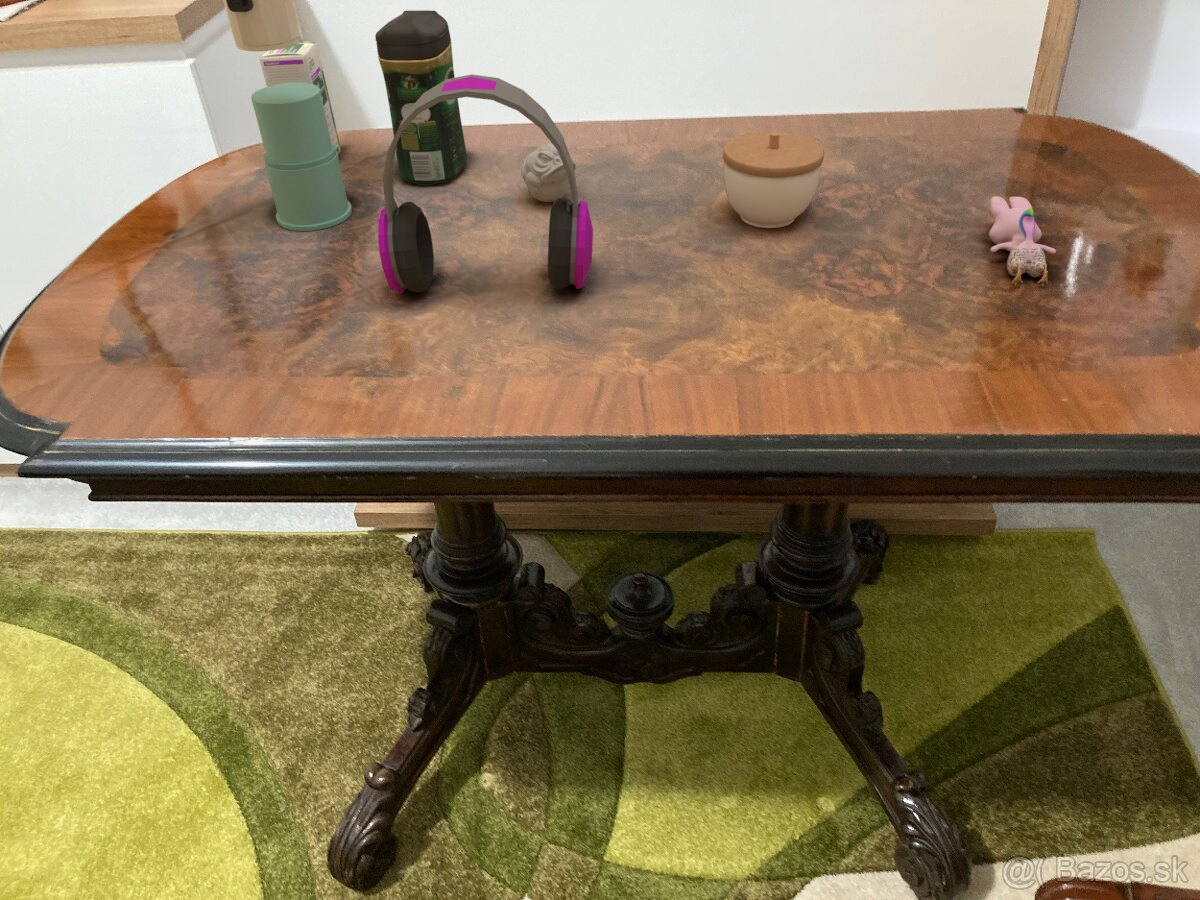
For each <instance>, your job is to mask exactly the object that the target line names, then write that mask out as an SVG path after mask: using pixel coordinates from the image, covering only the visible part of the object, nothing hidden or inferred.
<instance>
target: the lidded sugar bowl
mask: <svg viewBox="0 0 1200 900" xmlns="http://www.w3.org/2000/svg"><path fill="white" fill-rule="evenodd" d="M722 149H723V150H722V159H723V168H722V169H723V170H722V172H723V173H722V175H723V185H724V186H723V187H724V191H725V195H726V198H727V201H728V202H729V204H730V206H731V207H732V209H733V210H734V212H736V213H737V214H738V215H739V217H740V219H741V221H743V223H745V224H747V225H749V226H752V227H757V228H761V229H778V228H783V227H787V226H789V225H791V224H792V223H793V222H794V221H795V220H796V218H798V217H799V216H800V215H802V214H803V212H805V211H806V209H808V207H809V206H810V205H811V203H812V201H813V199H814V198H815V195H816V193H817V190H818V186H819V182H820V178H821V173H822V166H823V163H824V158H825V150H824V148H823V146H822V145H821V144H820V143H819V142H817V141H816V140H814V139H813V138H810V137H807V136H805V135H800V134H796V133H795V134H794V133H791V132H782V131H781V132H780V131H760V132H752V133H751V132H750V133H745V134H743V135H739V136H736V137H734V138H732V139H730V140H728V142H726V143H725V144H724V147H723V148H722Z"/></svg>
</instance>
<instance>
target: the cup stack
mask: <svg viewBox="0 0 1200 900" xmlns="http://www.w3.org/2000/svg"><path fill="white" fill-rule="evenodd" d="M250 98H251V102H252V107H253V111H254V114H255V118H256V123H257V125H258V131H259V133H260V137H261V141H262V144H263V145H262V146H263V150H264V154H263V160H264V161H263V164H264V167H265V171H266V174H267V178H268V182H269V186H270V189H271V192H272V198H273V200H274V205H275V208H276V209H275V210H276V214H275V219H276V222H277V224H278V225H279V226H280V227H281V228H283V229H286V230H289V231H295V232H313V231H321V230H325V229H329V228H332V227H334V226H337V225H340V224H341V223H343V222H345V221H346V220H347V219H349V218H350V217H351V215H352V213H353V209H352V208H353V207H352V204H351V202H350V201H349V200H348V196H347V192H346V186H345V183H344V178H343V174H342V173H343V172H342V168H341V163H340V159H339V154H337V151H336V149H335V146H334V144H332V143H331V139H330V134H329V129H328V125H327V120H326V115H325V111H324V106H323V101H322V97H321V92H320V88H319V87H318V86H316V85H314V84H309V83H283V84H277V85H272V86H268V87H267V86H265V87H262V88H260V89H258V90H256V91H255V92H253V93H252V94H251V97H250Z"/></svg>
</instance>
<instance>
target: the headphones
mask: <svg viewBox="0 0 1200 900" xmlns="http://www.w3.org/2000/svg"><path fill="white" fill-rule="evenodd" d="M457 98H458V99H462V98H472V99H479V100H481V99H482V100H488V101H489V100H490V101H494V102H496V103H498V104H501V105H503V106H505V107H507V108H511V109H513V110H514V111H517V112H519V113H520V114H521V115H522V116H524V117H525V118H526V119H528V120H529V121H530V122H531V123H533V124H534V125H535V126H537V127H538V128H539V129H540V130H541V131H542V133H543V134H544V135H545V136H546V138H547V139H548V140H549V142H551V143H552V144H553V145H554V146H555V148H556V149H557V151H558V153H559V155H560V158H561V160H562V163H563V165H564V167H565V170H566V172H567V175H568V178H569V189H570V196H571V200H570V199H568V198H566V197H561V198H558V199H557V200H556V201H553V202H552V205H551V207H550V212H549V222H548V223H549V226H548V241H547V242H548V243H547V250H548V251H547V278H548V281H549V283H550V285H551V286H552V287H553V288H554V289H556V290H564V289H566V288H567V287H569V286H570V285H573V286H574V287H575V289H576V290H578V289H582V288H584V285H585V282H586V279H587V276H588V273H589V270H590V268H591V265H592V260H593V246H594V245H593V243H594V241H593V240H594V227H593V223H592V219H591V214H590V210H589V206H588V202H587V201H584V200H582V199H580V201H579V194H578V187H577V180H576V173H575V170H574V167H573V162H572V160H571V158H572V157H571V155H570V152H569V150H568V146H567V144H566V142H565V138H564V136H563V134H562V132H561V131H560V129H559V128H558V126H556V123H555V122H554V121H553V119H552V118H551V117H550V114H549V113H548V112H547V109H545V108H544V107H543V106H541V104H540V103H539V102H537V101H536V100H535V99H534V98H533V97H532V96H530V95H529V94H528V93H527V92H526V91H525V90H524V89H522V88H520V87H517V86H515V85H514V84H512V83H510V82H508V81H506V80H504V79H501V78H499V77H493V76H486V75H479V74H472V73H471V74H466V75H461V76H455V78H451V79H446V80H445V81H443V82H441V83H440V84H438V85H436V86H435V87H433V88H431V89H430V90H428V91H426V92H425V93H423V95H422V96H421V97H420V98H419V99H418V100H417V101H416V103H415V104H414V105H413V106H412V107H411V108H410V109H409V111H408V112H407V113H406V114H405V116H404V118H403V120H402V122H401V124H400V126H399V128H398V130H397V132H396V134H395V137H394V136H393V138H392V141H391V143H390V145H389V148H388V150H387V152H386V159H385V166H384V171H383V175H382V176H383V177H382V182H383V194H384V195H383V196H384V207H383V208H381V210H380V213H379V218H378V228H377V229H378V230H377V231H378V232H377V240H378V241H377V242H378V243H377V244H378V253H379V256H380V262H381V266H382V271H383V273H384V276H385V280H386V282H387V284H388V286H389V287H390V289H391V290H392V291H394V292H397V293H401V294H402V293H404V292H405V291H406V289H407V290H409V291H411V292H415V293H417V294H420V293H424V292H425V291H426V290H427V289H428V288H429V287H430V285H431V283H432V279H433V274H434V267H435V263H434V262H435V259H434V258H435V257H434V256H435V255H434V246H433V239H432V234H431V233H432V232H431V228H430V225H429V221H428V220H427V217H426V215H425V213H424V211H423V209H422V208H421V207H420V206H418V205H417V204H416V203H415V202H413V201H405V202H403V203H401V204H400V205H399V206H398V204H397V201H396V200H395V198H394V180H393V179H394V177H393V166H394V162H395V156H396V146H397V142H398V140H399V137H400V135H401V133H402V131H403V130H404V129H405V128H406V127H407V126H408V125H409V124H410V123H411V122H412V121H413V119H414V118H415V117H416V116H417V115H418V114H419V113H421V112H423V111H424V110H426V109H428V108H430V107H432V106H434V105H435V104H437V103H439V102H441V101H446V100H452V99H457Z"/></svg>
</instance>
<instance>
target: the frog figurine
mask: <svg viewBox="0 0 1200 900" xmlns="http://www.w3.org/2000/svg"><path fill="white" fill-rule="evenodd" d="M571 160H572V162H573V167H574V171H575V170H576V167H577V165H576V164H575V160H574V159H573V158H572V157H571ZM522 162H523V163H522V166H521V169H520V173H521V177H522V179H523V182H524V184H525V185H526V187H527V190H528V192H529V194H530V195H531V196H532V197H533V198H534V199H536V200H538V201H539V202H543V203H554V202H555V201H556V200H557V199H558V198H563V196H564V195H565V194H566V193H567V190H568V188H569V186H570V184H569V178H568V175H567V172H566V170H565V167H564V165H563V163H562V160H561V158H560V155H559V153H558V151H557V149H556V148H555V146H554V145H553V144H552V143H551V141H549V142H547V143H543V144H541V145H540V146H539V147H538V148H537V149H536V150H534V151H531V152H530V153H529V154H527V156H525V158H524V159H523V161H522Z"/></svg>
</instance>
